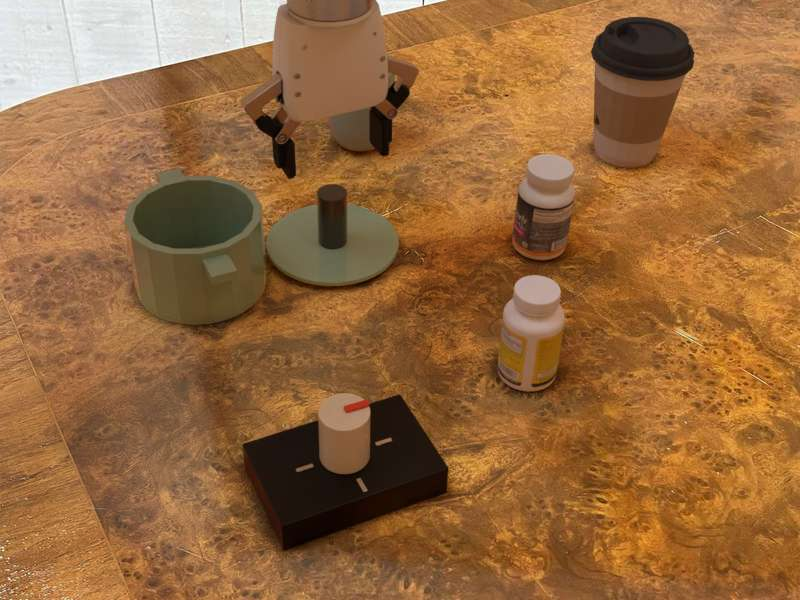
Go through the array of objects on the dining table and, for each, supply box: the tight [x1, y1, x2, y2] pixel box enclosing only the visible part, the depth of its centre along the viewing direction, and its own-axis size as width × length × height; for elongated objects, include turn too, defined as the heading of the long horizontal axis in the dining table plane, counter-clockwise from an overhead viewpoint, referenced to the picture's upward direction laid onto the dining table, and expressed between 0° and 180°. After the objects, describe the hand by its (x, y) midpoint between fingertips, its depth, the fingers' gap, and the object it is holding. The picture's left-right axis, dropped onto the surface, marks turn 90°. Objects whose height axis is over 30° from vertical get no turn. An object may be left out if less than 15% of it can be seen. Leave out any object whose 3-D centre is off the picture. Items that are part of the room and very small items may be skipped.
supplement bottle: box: [496, 274, 566, 392], centre depth 94 cm, size 5×5×10 cm
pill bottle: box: [511, 153, 576, 261], centre depth 109 cm, size 6×6×10 cm
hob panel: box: [241, 393, 449, 551], centre depth 86 cm, size 14×9×3 cm, turn 115°
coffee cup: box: [590, 16, 695, 169], centre depth 122 cm, size 11×11×15 cm
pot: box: [123, 167, 267, 326], centre depth 103 cm, size 13×18×8 cm
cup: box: [327, 72, 396, 152], centre depth 123 cm, size 8×8×10 cm
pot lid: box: [265, 183, 400, 287], centre depth 108 cm, size 14×14×7 cm
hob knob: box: [317, 392, 371, 474], centre depth 83 cm, size 4×4×5 cm
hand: (333, 160), depth 104 cm, fingers open, 9 cm apart
